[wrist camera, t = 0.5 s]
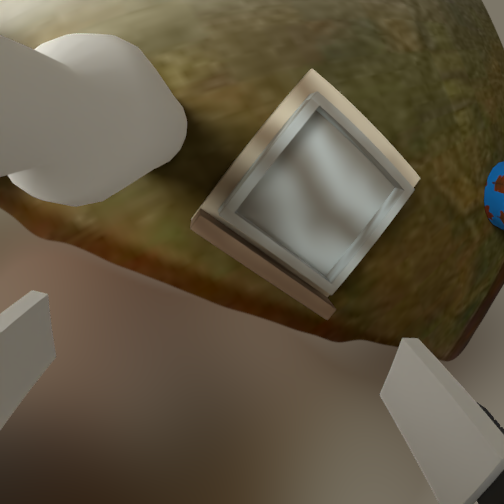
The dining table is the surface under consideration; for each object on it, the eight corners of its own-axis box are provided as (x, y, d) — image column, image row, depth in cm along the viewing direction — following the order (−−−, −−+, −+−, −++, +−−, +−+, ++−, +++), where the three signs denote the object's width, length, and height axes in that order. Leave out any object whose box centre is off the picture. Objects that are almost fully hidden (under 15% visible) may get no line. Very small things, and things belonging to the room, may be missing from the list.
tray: (309, 70, 29) (322, 62, 26) (415, 176, 35) (435, 182, 31) (191, 218, 33) (190, 228, 29) (316, 303, 39) (327, 320, 35)
